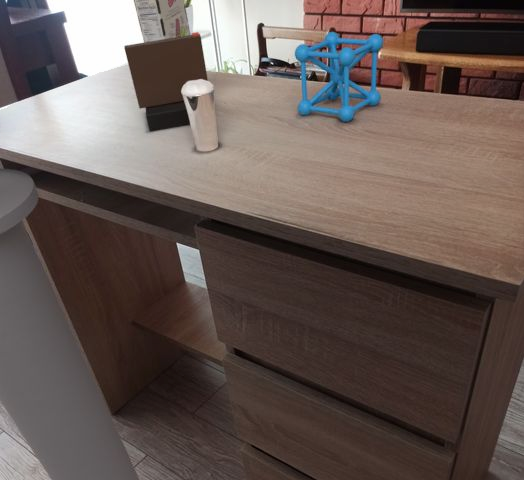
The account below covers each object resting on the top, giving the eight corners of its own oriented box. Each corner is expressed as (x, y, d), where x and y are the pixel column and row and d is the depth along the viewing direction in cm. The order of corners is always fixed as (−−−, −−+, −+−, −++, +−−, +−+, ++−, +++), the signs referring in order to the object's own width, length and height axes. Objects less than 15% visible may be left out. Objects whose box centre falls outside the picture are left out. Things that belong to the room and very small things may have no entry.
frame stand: (149, 131, 85) (145, 115, 83) (148, 113, 92) (144, 98, 91) (209, 121, 86) (207, 105, 84) (203, 103, 93) (201, 88, 91)
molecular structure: (383, 104, 83) (386, 32, 76) (348, 125, 78) (349, 50, 71) (330, 97, 88) (329, 29, 82) (295, 116, 83) (291, 45, 76)
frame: (139, 108, 86) (123, 46, 80) (139, 105, 87) (123, 43, 81) (210, 96, 87) (200, 33, 81) (209, 93, 88) (199, 31, 82)
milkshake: (223, 153, 75) (212, 77, 68) (188, 154, 76) (173, 79, 69) (231, 141, 78) (220, 67, 71) (197, 142, 79) (184, 69, 72)
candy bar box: (177, 78, 108) (158, -17, 97) (199, 77, 107) (182, -20, 96) (154, 95, 100) (131, -6, 89) (177, 95, 99) (157, -8, 88)
